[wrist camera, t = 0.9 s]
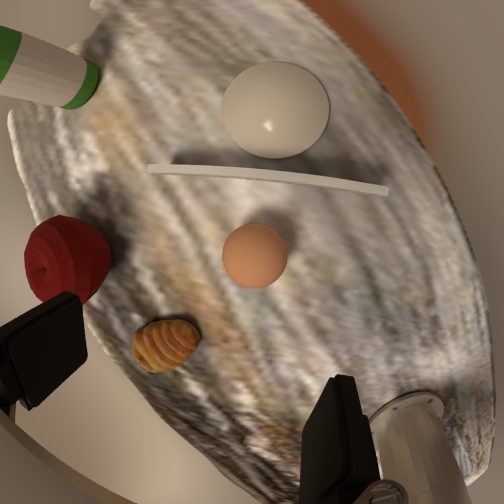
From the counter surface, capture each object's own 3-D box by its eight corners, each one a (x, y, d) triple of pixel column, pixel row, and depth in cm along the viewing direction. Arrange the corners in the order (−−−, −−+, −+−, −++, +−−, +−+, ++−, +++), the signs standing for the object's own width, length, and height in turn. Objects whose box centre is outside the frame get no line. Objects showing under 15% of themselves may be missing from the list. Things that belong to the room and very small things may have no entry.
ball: (300, 257, 28) (299, 273, 22) (253, 288, 29) (241, 310, 24) (266, 209, 28) (256, 212, 22) (220, 242, 29) (200, 254, 23)
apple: (107, 305, 34) (49, 341, 23) (64, 254, 34) (4, 273, 23) (142, 248, 31) (75, 274, 20) (92, 194, 31) (23, 199, 20)
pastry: (181, 302, 32) (167, 315, 28) (213, 346, 32) (203, 363, 29) (134, 331, 34) (119, 343, 30) (163, 369, 35) (151, 384, 31)
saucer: (350, 120, 24) (351, 119, 24) (263, 180, 27) (262, 179, 26) (284, 48, 24) (283, 45, 23) (203, 103, 26) (201, 101, 26)
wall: (375, 188, 25) (388, 187, 21) (374, 196, 25) (387, 196, 21) (168, 167, 29) (147, 164, 24) (168, 174, 29) (147, 172, 24)
